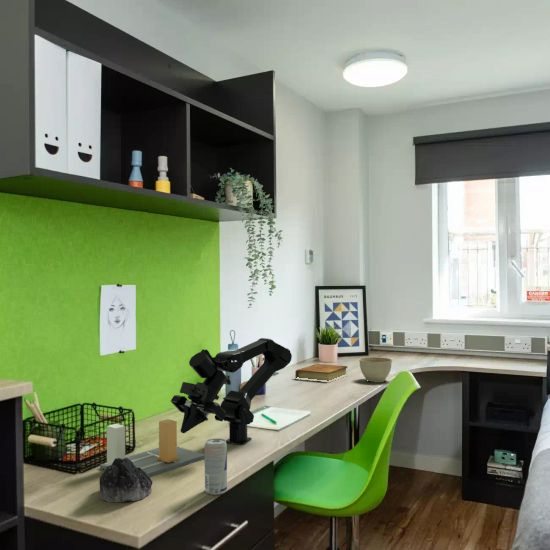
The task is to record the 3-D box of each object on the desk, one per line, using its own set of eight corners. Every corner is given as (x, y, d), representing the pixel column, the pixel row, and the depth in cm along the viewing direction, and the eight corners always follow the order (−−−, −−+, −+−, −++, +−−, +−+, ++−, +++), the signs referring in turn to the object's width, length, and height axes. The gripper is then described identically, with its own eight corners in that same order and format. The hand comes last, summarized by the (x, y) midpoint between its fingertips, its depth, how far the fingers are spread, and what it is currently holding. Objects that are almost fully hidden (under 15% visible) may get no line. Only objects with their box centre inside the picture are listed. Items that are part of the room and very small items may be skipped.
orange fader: (168, 455, 159) (167, 418, 159) (179, 459, 156) (178, 421, 156) (156, 459, 156) (156, 421, 156) (167, 462, 153) (167, 424, 153)
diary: (315, 374, 306) (315, 363, 306) (347, 377, 296) (347, 366, 296) (295, 380, 286) (295, 369, 286) (328, 383, 276) (328, 372, 276)
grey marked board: (169, 447, 171) (169, 444, 171) (205, 458, 161) (205, 454, 161) (100, 468, 153) (100, 464, 153) (135, 481, 142) (135, 477, 142)
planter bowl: (353, 381, 279) (353, 359, 279) (368, 377, 292) (368, 356, 292) (383, 385, 269) (382, 362, 269) (397, 380, 282) (397, 358, 282)
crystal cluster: (138, 482, 144) (134, 443, 144) (165, 492, 134) (160, 451, 134) (88, 500, 135) (83, 459, 136) (112, 512, 125) (107, 468, 125)
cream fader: (117, 461, 155) (117, 423, 155) (127, 465, 151) (127, 425, 152) (104, 465, 151) (104, 426, 152) (114, 468, 148) (114, 429, 148)
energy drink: (227, 486, 138) (227, 438, 139) (226, 495, 133) (226, 444, 133) (205, 487, 138) (205, 438, 138) (203, 495, 133) (203, 444, 133)
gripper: (175, 368, 170) (145, 411, 162) (218, 374, 158) (188, 421, 150) (195, 390, 176) (167, 432, 168) (237, 398, 164) (210, 444, 156)
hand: (182, 432), depth 160 cm, fingers closed
